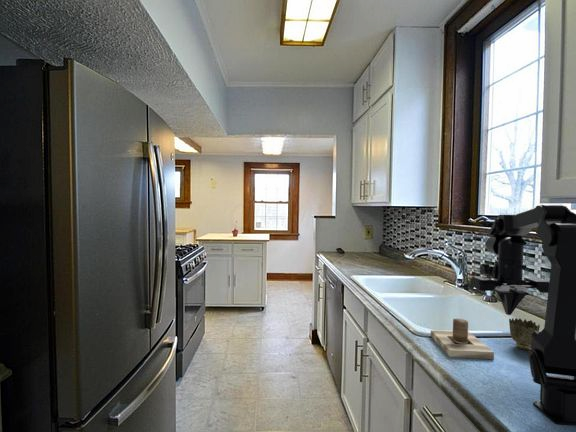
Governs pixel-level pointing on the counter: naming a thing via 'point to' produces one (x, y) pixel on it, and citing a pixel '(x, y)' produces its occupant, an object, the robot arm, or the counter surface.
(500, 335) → the counter surface
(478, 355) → the board
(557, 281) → the robot arm
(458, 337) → the peg
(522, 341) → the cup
